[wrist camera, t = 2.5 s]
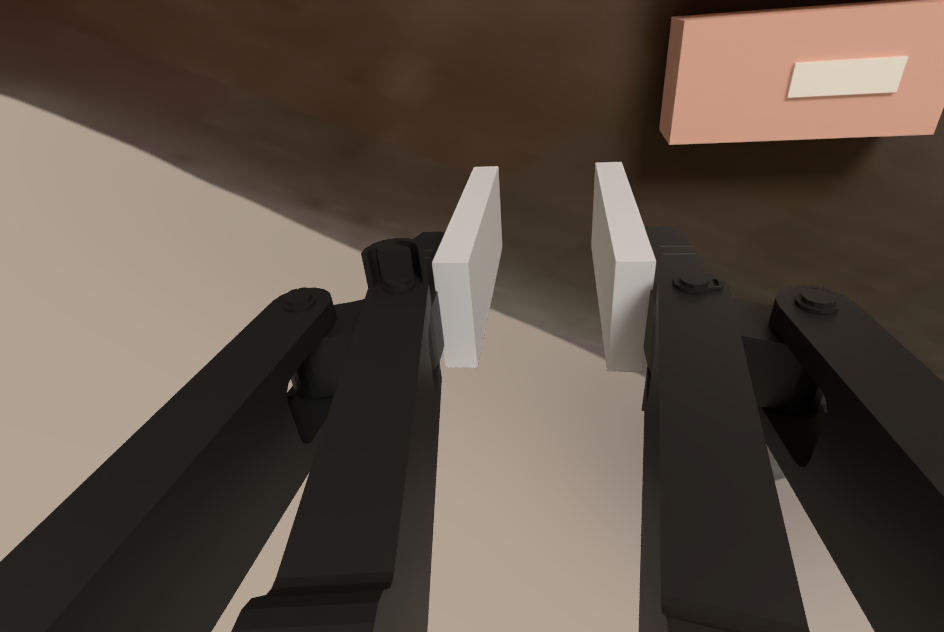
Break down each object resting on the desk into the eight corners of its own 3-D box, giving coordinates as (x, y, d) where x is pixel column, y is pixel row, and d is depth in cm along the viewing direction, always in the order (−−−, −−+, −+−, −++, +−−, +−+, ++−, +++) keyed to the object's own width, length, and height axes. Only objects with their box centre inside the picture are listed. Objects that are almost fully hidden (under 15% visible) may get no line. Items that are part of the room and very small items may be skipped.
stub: (659, 129, 32) (669, 145, 29) (671, 16, 29) (685, 21, 26) (896, 119, 30) (935, 135, 27) (938, -4, 27) (988, -2, 24)
